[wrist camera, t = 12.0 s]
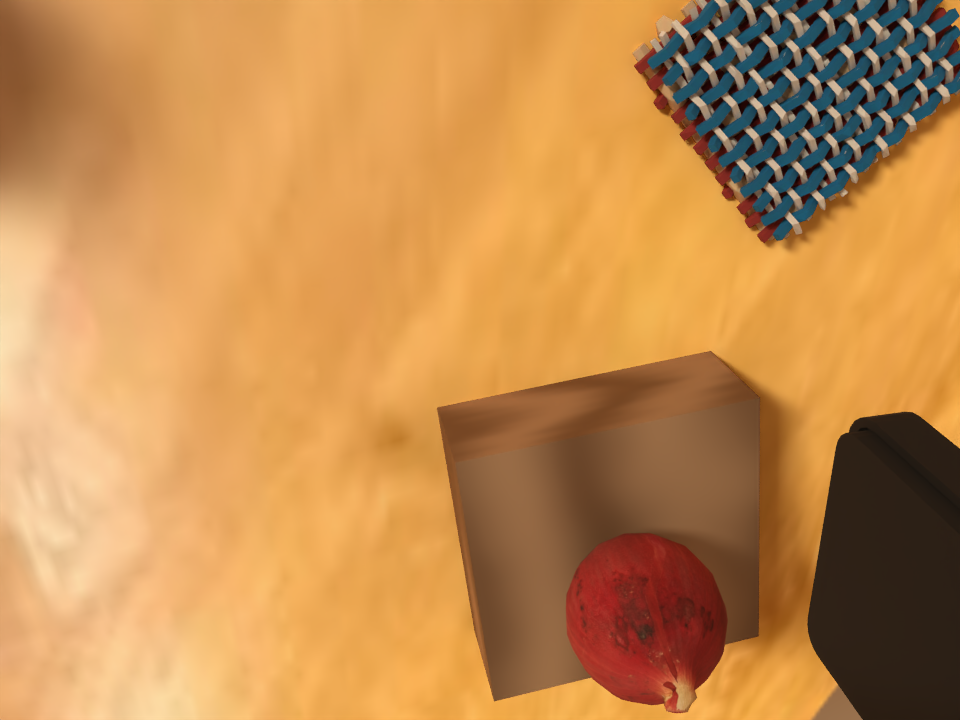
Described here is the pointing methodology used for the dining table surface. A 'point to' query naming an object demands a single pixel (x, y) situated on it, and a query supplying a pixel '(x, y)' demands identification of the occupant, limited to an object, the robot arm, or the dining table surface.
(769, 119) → the woven mat
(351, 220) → the dining table surface
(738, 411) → the walnut block
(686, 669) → the onion
